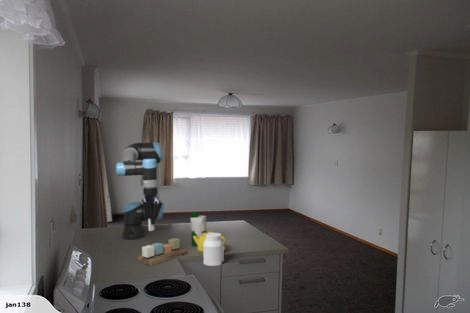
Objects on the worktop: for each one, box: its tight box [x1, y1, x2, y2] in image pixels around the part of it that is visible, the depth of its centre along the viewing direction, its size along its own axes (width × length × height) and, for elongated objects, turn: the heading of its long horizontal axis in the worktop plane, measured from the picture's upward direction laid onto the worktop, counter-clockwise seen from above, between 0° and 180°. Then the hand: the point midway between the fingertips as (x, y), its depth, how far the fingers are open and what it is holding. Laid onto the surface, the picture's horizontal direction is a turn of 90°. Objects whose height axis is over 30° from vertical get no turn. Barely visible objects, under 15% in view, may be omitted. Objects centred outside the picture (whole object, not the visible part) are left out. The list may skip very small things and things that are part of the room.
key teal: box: [150, 242, 164, 255], centre depth 205 cm, size 5×5×5 cm
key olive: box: [167, 237, 181, 250], centre depth 214 cm, size 5×5×5 cm
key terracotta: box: [163, 243, 172, 254], centre depth 210 cm, size 5×5×5 cm
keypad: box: [135, 247, 188, 267], centre depth 207 cm, size 14×25×2 cm, turn 139°
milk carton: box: [190, 212, 207, 247], centre depth 229 cm, size 9×9×20 cm
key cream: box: [141, 244, 154, 258], centre depth 200 cm, size 5×5×5 cm
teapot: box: [193, 231, 227, 254], centre depth 216 cm, size 20×12×12 cm, turn 73°
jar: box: [202, 232, 225, 267], centre depth 197 cm, size 12×10×15 cm
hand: (151, 230), depth 201 cm, fingers closed
